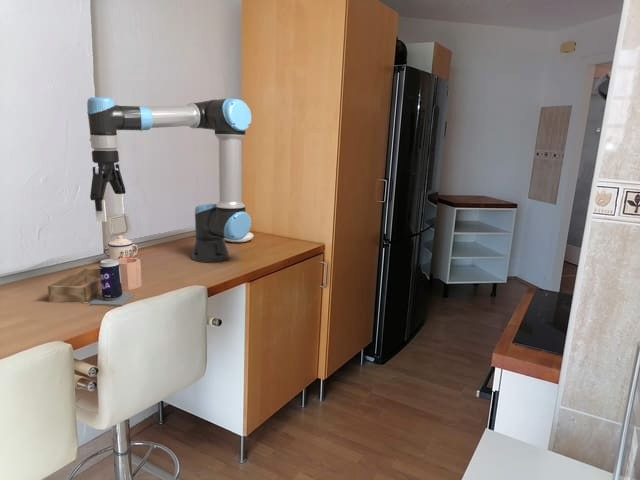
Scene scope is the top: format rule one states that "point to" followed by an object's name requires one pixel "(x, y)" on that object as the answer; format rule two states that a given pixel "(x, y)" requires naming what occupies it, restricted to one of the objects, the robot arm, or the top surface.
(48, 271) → the top surface
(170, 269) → the top surface
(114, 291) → the beverage can
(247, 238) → the white bowl
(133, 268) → the pot
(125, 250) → the teacup with lid
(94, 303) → the coaster
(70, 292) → the crate
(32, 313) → the top surface
